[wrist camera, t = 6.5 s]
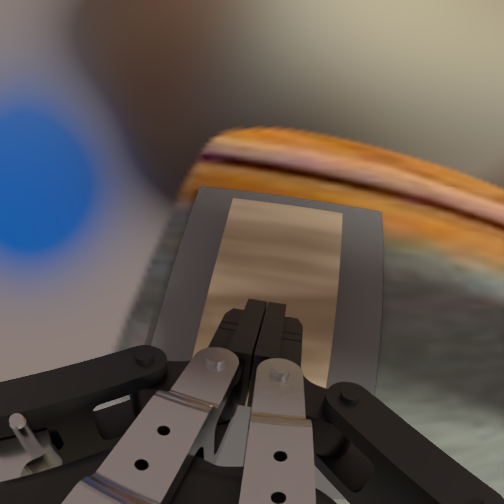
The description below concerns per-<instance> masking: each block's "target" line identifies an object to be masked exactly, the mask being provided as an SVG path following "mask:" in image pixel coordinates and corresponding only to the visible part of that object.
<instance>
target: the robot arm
mask: <svg viewBox="0 0 504 504" xmlns="http://www.w3.org/2000/svg"><path fill="white" fill-rule="evenodd" d="M266 307H267V308H266ZM285 312H286V304H282V303H276V302H269V301H268V305H267V301H262V300H256V299H250V298H249V299H248V301H247V303H246V306H245V308H244V310H242V309H236V308H233V309H231V310H230V311H228V312H226V313H225V314H224V316H223V318H222V320H221V322H220V324H219V326H218V328H217V330H216V332H215V334H214V336H213V338H212V340H211V342H210V344H209V346H208V348H205V349H202V350H200V351H198V352H197V353H196V354H195V355H194V357H193V358H192V359H191V360H189V361H167V356H166V354H165V353H164V352H163V351H162V350H161V349H159V348H157V347H154V346H149V345H141V346H136V347H132V348H129V349H126V350H122V351H119V352H116V353H112V354H109V355H105V356H102V357H98V358H95V359H91V360H87V361H84V362H80V363H77V364H73V365H69V366H65V367H61V368H58V369H54V370H50V371H46V372H42V373H38V374H34V375H29V376H25V377H21V378H17V379H12V380H8V381H3V382H0V504H336V503H335V501H333V500H332V499H331V498H330V497H329V496H328V495H326V494H325V493H323V492H322V491H320V490H319V489H317V488H315V468H314V465H315V466H316V467H317V469H318V470H319V471H320V472H321V473H322V474H323V475H324V476H325V477H326V479H327V480H328V481H329V482H330V483H331V484H332V485H333V486H334V487H335V488H336V489H337V490H338V491H339V492H340V494H341V495H342V496H343V497H344V498H345V499H346V500H347V501H348V502H349V503H350V504H504V499H503V498H502V496H501V495H500V494H499V493H497V492H496V491H495V490H493V489H492V488H490V487H489V486H488V485H486V484H485V483H484V482H482V481H481V480H480V479H478V478H477V477H476V476H474V475H473V474H472V473H470V472H469V471H468V470H467V469H465V468H464V467H463V466H461V465H460V464H459V463H457V462H456V461H455V460H454V459H452V458H451V457H450V456H448V455H447V454H446V453H444V452H443V451H442V450H441V449H439V448H438V447H437V446H436V445H434V444H433V443H432V442H430V441H429V440H428V439H427V438H425V437H424V436H423V435H422V434H420V433H419V432H418V431H417V430H415V429H414V428H413V427H412V426H410V425H409V424H408V423H407V422H405V421H404V420H403V419H402V418H401V417H399V416H398V415H397V414H396V413H394V412H393V411H392V410H391V409H389V408H388V407H387V406H386V405H385V404H383V403H382V402H381V401H380V400H379V399H377V398H376V397H375V396H374V395H372V394H371V393H370V392H369V391H368V390H366V389H365V388H364V387H362V386H361V385H358V384H356V383H352V382H338V383H335V384H333V385H331V386H330V387H329V388H328V389H326V388H323V387H321V386H318V385H315V384H314V383H312V382H310V381H309V380H308V379H307V378H305V376H304V375H303V372H302V369H301V357H302V338H303V336H302V335H303V325H302V324H301V322H300V321H299V319H298V318H292V317H285ZM248 393H249V396H248ZM126 395H130V400H128V401H125V402H122V403H119V404H116V405H113V406H110V407H107V408H104V409H101V410H98V411H93V409H94V408H95V407H96V406H98V405H100V404H102V403H105V402H109V401H112V400H115V399H118V398H121V397H124V396H126ZM247 397H248V403H247V406H248V407H251V412H250V418H249V424H248V431H247V438H246V446H245V452H244V459H243V466H241V467H225V466H217V465H215V463H216V461H217V458H218V456H219V454H220V451H221V449H222V447H223V444H224V442H225V440H226V437H227V435H228V432H229V430H230V428H231V425H232V423H233V417H234V415H235V413H236V410H237V407H238V405H242V406H245V404H246V401H247Z"/></svg>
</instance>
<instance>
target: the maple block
mask: <svg viewBox="0 0 504 504" xmlns="http://www.w3.org/2000/svg"><path fill="white" fill-rule="evenodd" d="M342 216H343V213H338V212H332V211H325V210H319V209H312V208H305V207H298V206H291V205H284V204H277V203H269V202H261V201H254V200H246V199H237V198H233V200H232V203H231V207H230V211H229V214H228V218H227V222H226V225H225V229H224V233H223V237H222V240H221V244H220V248H219V252H218V256H217V259H216V263H215V267H214V271H213V275H212V279H211V283H210V287H209V291H208V295H207V299H206V303H205V307H204V311H203V315H202V319H201V323H200V327H199V331H198V335H197V339H196V344H195V348H194V352H193V356H192V358H193V357H194V355H195V354H196V353H197V352H198V351H200V350H202V349H205V348H208V346H209V344H210V342H211V340H212V338H213V336H214V334H215V332H216V330H217V328H218V326H219V324H220V322H221V320H222V318H223V316H224V314H225V313H226V312H228V311H230V310H231V309H233V308H236V309H242V310H244V308H245V306H246V303H247V301H248V299H249V298H250V299H256V300H262V301H267V305H268V301H269V302H276V303H282V304H286V312H285V317H292V318H298V319H299V321H300V322H301V324H302V325H303V335H302V336H303V338H302V357H301V369H302V372H303V375H304V376H305V378H307V379H308V380H309V381H310V382H312V383H314V384H315V385H318V386H321V387H323V388H326V383H327V377H328V370H329V363H330V356H331V348H332V340H333V332H334V323H335V314H336V304H337V294H338V282H339V269H340V255H341V238H342ZM266 308H267V307H266ZM248 396H249V393H248ZM247 403H248V397H247V401H246V404H245V405H246V406H247Z"/></svg>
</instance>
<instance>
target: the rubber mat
mask: <svg viewBox="0 0 504 504" xmlns="http://www.w3.org/2000/svg"><path fill="white" fill-rule="evenodd" d="M233 198H237V199H246V200H254V201H261V202H269V203H277V204H284V205H291V206H298V207H305V208H312V209H319V210H325V211H332V212H338V213H343V216H342V238H341V255H340V269H339V282H338V294H337V304H336V314H335V323H334V332H333V340H332V348H331V356H330V363H329V370H328V377H327V383H326V389H328V388H329V387H330V386H331V385H333V384H335V383H338V382H352V383H356V384H358V385H361V386H362V387H364V388H365V389H366V390H368V391H369V392H370V393H371V394H372V395H374V393H375V386H376V377H377V369H378V359H379V348H380V335H381V320H382V299H383V224H382V212H380V211H375V210H369V209H364V208H358V207H352V206H346V205H340V204H334V203H327V202H321V201H314V200H307V199H301V198H293V197H286V196H279V195H271V194H263V193H255V192H247V191H238V190H229V189H220V188H210V187H200V188H199V190H198V193H197V196H196V199H195V202H194V205H193V207H192V210H191V213H190V216H189V219H188V222H187V225H186V228H185V231H184V234H183V237H182V240H181V243H180V246H179V249H178V253H177V256H176V259H175V262H174V265H173V269H172V272H171V275H170V278H169V282H168V285H167V289H166V292H165V295H164V299H163V302H162V306H161V309H160V313H159V316H158V320H157V324H156V327H155V331H154V335H153V339H152V342H151V346H154V347H157V348H159V349H161V350H162V351H163V352H164V353H165V354H166V356H167V361H189V360H191V359H192V356H193V352H194V348H195V344H196V339H197V335H198V331H199V327H200V323H201V319H202V315H203V311H204V307H205V303H206V299H207V295H208V291H209V287H210V283H211V279H212V275H213V271H214V267H215V263H216V259H217V256H218V252H219V248H220V244H221V240H222V237H223V233H224V229H225V225H226V222H227V218H228V214H229V211H230V207H231V203H232V200H233ZM250 412H251V407H248V406H246V405H245V406H242V405H238V407H237V410H236V413H235V415H234V417H233V423H232V425H231V428H230V430H229V432H228V435H227V437H226V440H225V442H224V444H223V447H222V449H221V451H220V454H219V456H218V458H217V461H216V463H215V465H217V466H225V467H241V466H243V459H244V452H245V446H246V438H247V431H248V424H249V418H250ZM314 468H315V488H317V489H319V490H320V491H322V492H323V493H325V494H326V495H328V496H329V497H330V498H331V499H345V498H344V497H343V496H342V495H341V494H340V492H339V491H338V490H337V489H336V488H335V487H334V486H333V485H332V484H331V483H330V482H329V481H328V480H327V479H326V477H325V476H324V475H323V474H322V473H321V472H320V471H319V470H318V469H317V467H316V466H315V465H314Z"/></svg>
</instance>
